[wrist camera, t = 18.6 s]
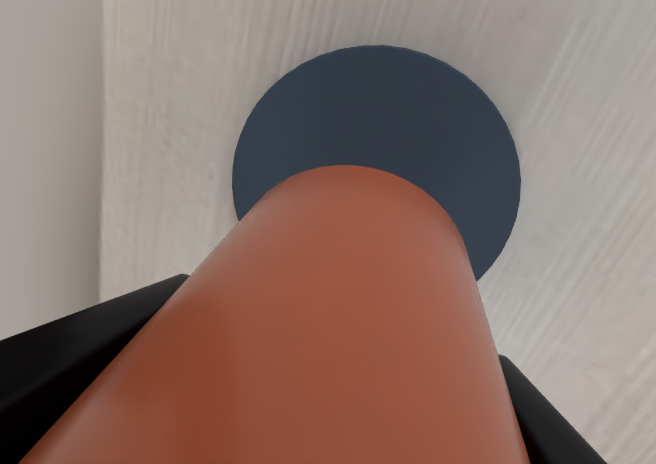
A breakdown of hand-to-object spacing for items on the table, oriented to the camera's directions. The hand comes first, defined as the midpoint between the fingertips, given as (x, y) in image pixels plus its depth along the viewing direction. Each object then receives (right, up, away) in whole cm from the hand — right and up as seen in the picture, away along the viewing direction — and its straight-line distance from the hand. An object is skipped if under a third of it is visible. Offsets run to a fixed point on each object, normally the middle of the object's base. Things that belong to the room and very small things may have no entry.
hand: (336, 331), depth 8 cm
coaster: (+1, +3, +7) cm, 8 cm away
